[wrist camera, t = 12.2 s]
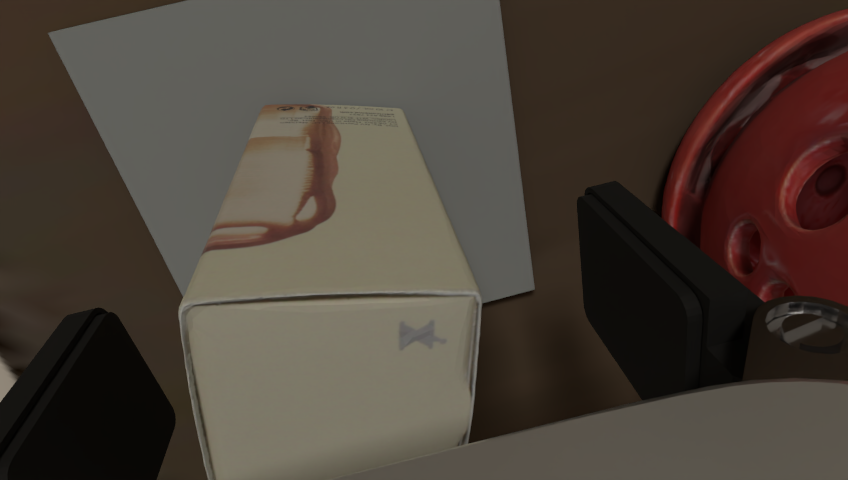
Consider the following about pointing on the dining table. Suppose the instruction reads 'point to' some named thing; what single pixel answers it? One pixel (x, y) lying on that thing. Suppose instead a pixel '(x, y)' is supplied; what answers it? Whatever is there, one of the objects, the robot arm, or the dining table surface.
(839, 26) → the plant pot
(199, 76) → the mat
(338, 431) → the skincare box
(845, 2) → the dining table surface
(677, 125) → the dining table surface
